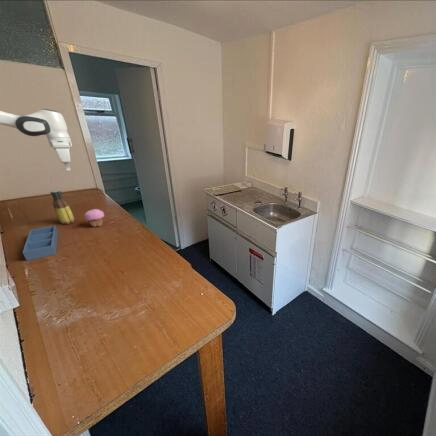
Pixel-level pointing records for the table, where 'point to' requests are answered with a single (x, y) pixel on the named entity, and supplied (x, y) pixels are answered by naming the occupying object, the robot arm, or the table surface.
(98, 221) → the cupcake
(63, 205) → the sauce bottle
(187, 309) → the table surface
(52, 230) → the tray
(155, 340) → the table surface
